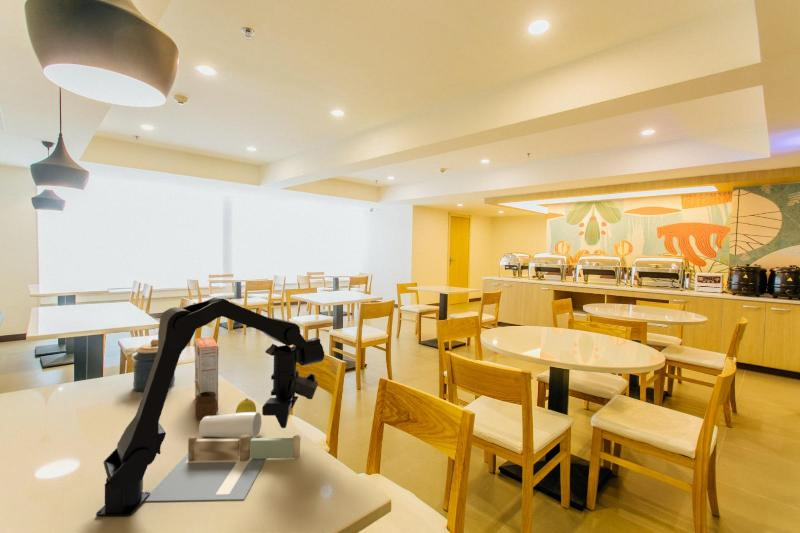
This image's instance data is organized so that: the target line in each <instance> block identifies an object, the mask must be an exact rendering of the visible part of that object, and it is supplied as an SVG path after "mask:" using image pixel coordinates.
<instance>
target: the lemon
mask: <svg viewBox="0 0 800 533" xmlns="http://www.w3.org/2000/svg"><path fill="white" fill-rule="evenodd" d="M241 412H257V407H256V403H255V402H254V400H252V399H249V398H245V399H243V400H241V401H239V403H238V404H237V406H236V410H235V413H241Z"/></svg>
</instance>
